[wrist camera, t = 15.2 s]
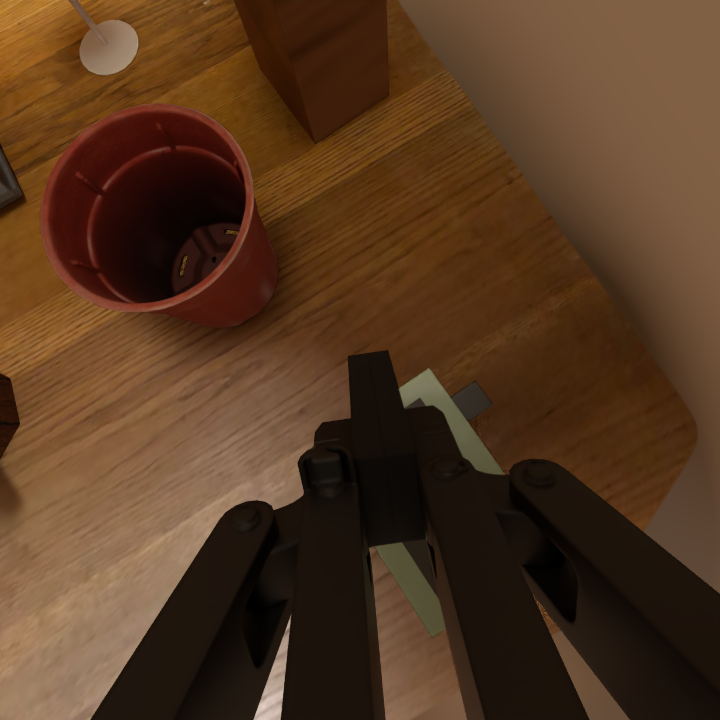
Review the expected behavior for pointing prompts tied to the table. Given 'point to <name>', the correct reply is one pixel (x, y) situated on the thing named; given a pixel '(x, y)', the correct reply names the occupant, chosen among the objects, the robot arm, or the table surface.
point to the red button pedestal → (321, 56)
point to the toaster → (426, 390)
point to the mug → (7, 413)
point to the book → (7, 183)
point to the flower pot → (159, 218)
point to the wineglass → (106, 44)
